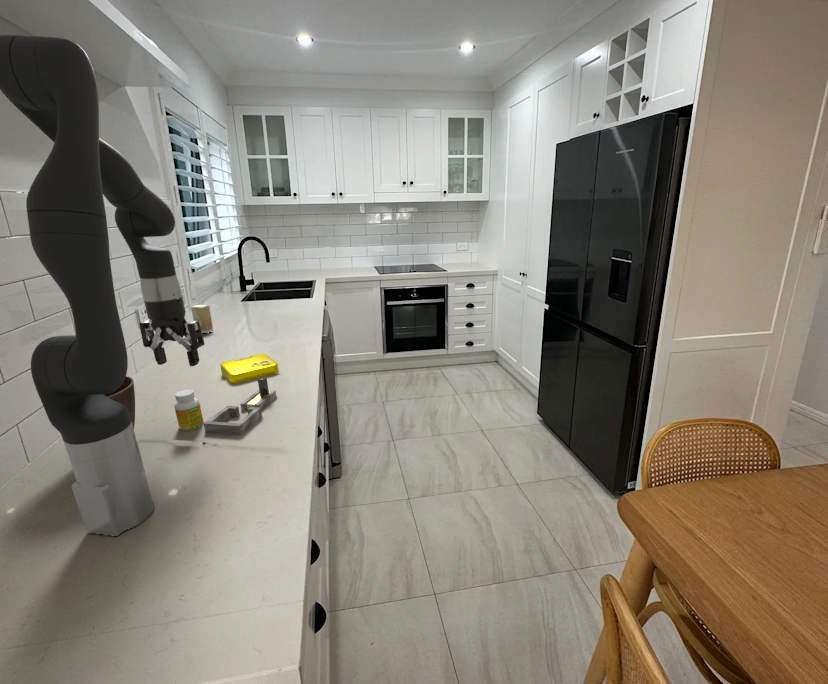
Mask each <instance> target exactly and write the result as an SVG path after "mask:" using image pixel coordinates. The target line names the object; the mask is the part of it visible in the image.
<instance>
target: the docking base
mask: <svg viewBox="0 0 828 684" xmlns="http://www.w3.org/2000/svg"><path fill="white" fill-rule="evenodd" d="M269 392H270V393H269V394H267V395H266V396H265V397H264V398H262V399H261V400H260V401H259V402H258V403H256V404H255V407H249V408H248V409H247V405H246V404H247V403H248V402H250V401H251V400H252V399H253V398H255V397H256V396H257V395H258V394H260V392H259V389H257V390H256V391H255V392H254V393H252V394H251V395H249V397H247V398H246V399H245V400H243V401H242V402H241V403H240V404H239V405H240V408H239V406H238V405H227V406H225V407H224V408H222V409H221V410H220V411H218V412H217V413H216V414H214V415H213V416H212V417H210V418H209V419H207V420H206V421H205V422H204V423H203V429H204V433H209V434H210V433H211V434H223V435H234V436H235V435H237V436H238V435H239V436H241V435H243V434H244V433H245V432H246V431H247V430H248V429H249V428H250V427H252V426H253V425H254V424H255V423H256V422H257V421H258V420H260V419H261V418H262V417H263V413H262V410H263V409H264V408H265V407H266V406H267V405H269V404H270V403H272V401H273V400H275V398H277V391H276V390H271V391H269ZM240 410H241V411H246V412H247V415H245V416H244V417H243V418H242V419H241V420H240V421H239V422H227V421H226V420H228V419H230V418H231V417H233V418H234V417H235V418H238V416H240V414H241V413H240Z"/></svg>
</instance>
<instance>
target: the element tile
mask: <svg viewBox="0 0 828 684" xmlns="http://www.w3.org/2000/svg"><path fill="white" fill-rule="evenodd" d="M219 366H220V370H221V376H222V377H223V378H224V380H228V381H229V383H230V384H239V383H243V382H244V383H245V382H247V381H251V380H255V379H259V378H262V377H267V376H272V375H280V370H279V364H278V362H277V361H276V360H274V359H273V358H271V356H269V355H268V354H266V353H264V352H263V353H258V354H253V355H248V356H245V357H239V358H235V359H231V360H226V361H221V363H220V365H219Z"/></svg>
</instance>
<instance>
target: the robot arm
mask: <svg viewBox="0 0 828 684" xmlns="http://www.w3.org/2000/svg"><path fill="white" fill-rule="evenodd" d="M97 81H98V80H97V77H96V73H95V70H94V67H93V65H92V62H91V59H90V57H89V56H88V54H87V53H86V51H85V50H84V49H83V47H81V45H79V43H76V42H75V41H73V40H70V39H68V38H64V37H63V38H62V37H53V36H36V35H21V34H19V35H17V34H15V35H14V34H5V35H2V34H1V35H0V91H1V93H3V95H4V96H5V97H6V99H8V100H9V102H10V103H12V105H13V106H14V107H15V108H17V110H18V111H20V113H22V114H23V116H25V117H26V118H27V119H28V120H29V121H31V122H32V123H33V125H35V126H36V127H37V128H38V129H39V130H40V131H41V132H42V133H44V134H45V135H46V137H48V138H49V139H50V140H51V141H52V142H53V147H52V148H51V151H50V152H49V154H48V156H47V158H46V160H45V162H44V163H43V165H42V166H41V167H40V170H39V171H38V172H37V175H36V176H35V178H34V179H33V180H32V181H33V182H32V183H31V185H30V188H29V189H28V193H27V195H26V196H27V197H26V201H25V202H26V213H27V222H28V229H29V237H30V242H31V248H33V251H34V253H35V255H36V257H37V259H38V261H39V262H40V264H41V265H42V266H43V268H44V269H45V270H46V271H47V273H48V274H49V275H50V276H51V278H52V279H53V281H54V282H55V283H56V284H57V285H58V287H59V289H60V290H61V292H62V293H63V294H64V295H65V298H66V300H67V301H68V304H69V306H70V309H71V313H72V318H73V319H72V320H73V323H74V329H75V330H74V331H75V335H74V334H73V335H55V336H51V337H48V338H44V340H42V341H40V342H39V343H38V345H36V347H35V349H34V350H33V352H32V355H31V359H30V374H31V379H32V381H33V383H34V386H35V390H36V392H37V394H38V397H39V399H40V402H41V404H42V406H43V408H44V411H45V414H46V416H47V418H48V420H49V423H50V424H51V426H53V428H54V429H55V430H57V431H58V432H59V433H60V435H61V438H62V441H63V444H64V447H65V450H66V453H67V456H68V458H69V462H70V465H71V469H72V472H73V474H74V477H75V478H74V479H75V482H73V483H72V485H71V489H72V490H71V491H72V492H73V495H74V498H75V502H76V504H77V509H78V510H79V513H80V516H81V519H82V522H83V525H84V529H85V531H86V533H87V532H88V533H87V534H92V533H98V534H97V535H99V534H106V535H105V536H107V535H113V536H112V537H114V536H117V535H119V534H120V533H121V532H122V533H123V531H124V532H125V530H126V531H128V530H130V528H131V529H133V528H134V526H135V527H137V526H138V525H140V524H141V523H143V522H144V521H145V520H147V519H148V518H149V517H150V516H151V515H152V513H153V511H154V509H155V504H154V501H153V496H152V492H151V489H150V484H149V481H148V477H147V473H146V470H145V467H144V466H145V465H144V462H143V459H142V456H141V455H142V454H141V451H140V448H139V444H138V440H137V437H136V433H135V428H134V429H133V425H132V421H131V418H130V414H129V411H128V409H127V407H126V406H125V405H123V404H121V403H119V402H117V401H114V400H112V399H110V398H108V397H107V396H105V395H104V394H109V393H112V392H114V391H116V390H117V389H118V388H119V387H121V385H122V384H123V382H124V380H125V378H126V376H127V374H128V368H129V366H128V365H129V362H128V359H129V358H128V351H127V346H126V341H125V335H124V331H123V327H122V324H121V323H122V322H121V319H120V314H119V309H118V306H117V305H118V304H117V300H116V294H115V287H114V280H113V273H112V266H111V265H112V264H111V257H110V243H109V241H110V240H109V231H108V230H109V229H108V221H107V213H106V206H105V200H104V198H105V199H106V200H107V201H108V203H109V204H110V205H112V206H113V207H114V208H116V209H115V211H114V221H115V224H116V227H117V229H118V231H119V233H120V234H121V236H122V237H123V240H125V242H126V243H125V244H127V247H128V248H129V249H130V253H132V256H133V258H134V261H135V263H136V264H135V265H136V269H137V272H138V276H139V282H140V290H141V294H142V295H141V296H142V298H143V303H144V306H145V311H146V315H147V319H148V320H145V321H142V322H139V324H138V325H139V330H140V335H141V340H142V345H143V347H145V348H150V349H151V350H152V351H153V356H154V358H155V362H156V363H157V365H161V366H162V365H164V364H166V363H167V362H168V359H167V355H166V350H165V347H164V344H165V342H168V341H171V342H177V343H178V344H179V345H181V346H182V347H184V348H185V349H186V355H187V359H188V364H189V365H188V366H190V367H195V366H197V365H198V364H199V362H200V357H199V351H198V349H199V348H201V347H203V346H205V345H206V343H205V339H204V335H203V334H202V332H201V328H200V324H199V322H198V321H194V320H193V321H191V322H187V320H186V318H185V316H186V313H187V312H186V308H185V302H184V299H183V298H184V297H183V294H182V290H181V285H180V282H179V278H178V276H177V272H176V268H175V262H174V257H173V254H172V251H171V250H170V249H168V248H165V247H159V246H153V245H151V244H149V243H148V241H147V240H146V239H145V238H153V237H158V238H159V237H165V236H169V235H170V234H172V232H173V231H174V229H175V226H176V220H175V216H174V214H173V211H172V210H171V209H170V207H169V206H168V204H167V203H166V202H165V201H164V200H162V199H161V198H160V196H158V195H156V193H154V192H153V191H152V190H151V188H149V187H148V186H146V185H145V184H144V183H143V182H142V180H141V178H140V177H139V175H138V174H137V172H136V171H135V169H134V167H133V166H132V165H131V163H130V162H129V161H128V160H127V159H126V158H125V156H124V155H123V154H122V153H121V152H120V151H118V150H117V149H116V148H115V147H113V146H112V145H110V144H109V143H107V142H106V141H104V140H103V139H102V138H100V109H99V108H100V105H99V99H100V98H99V89H98V82H97ZM127 529H128V530H127ZM122 533H121V534H122ZM121 534H120V535H121ZM120 535H119V536H120ZM117 537H118V536H117Z"/></svg>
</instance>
